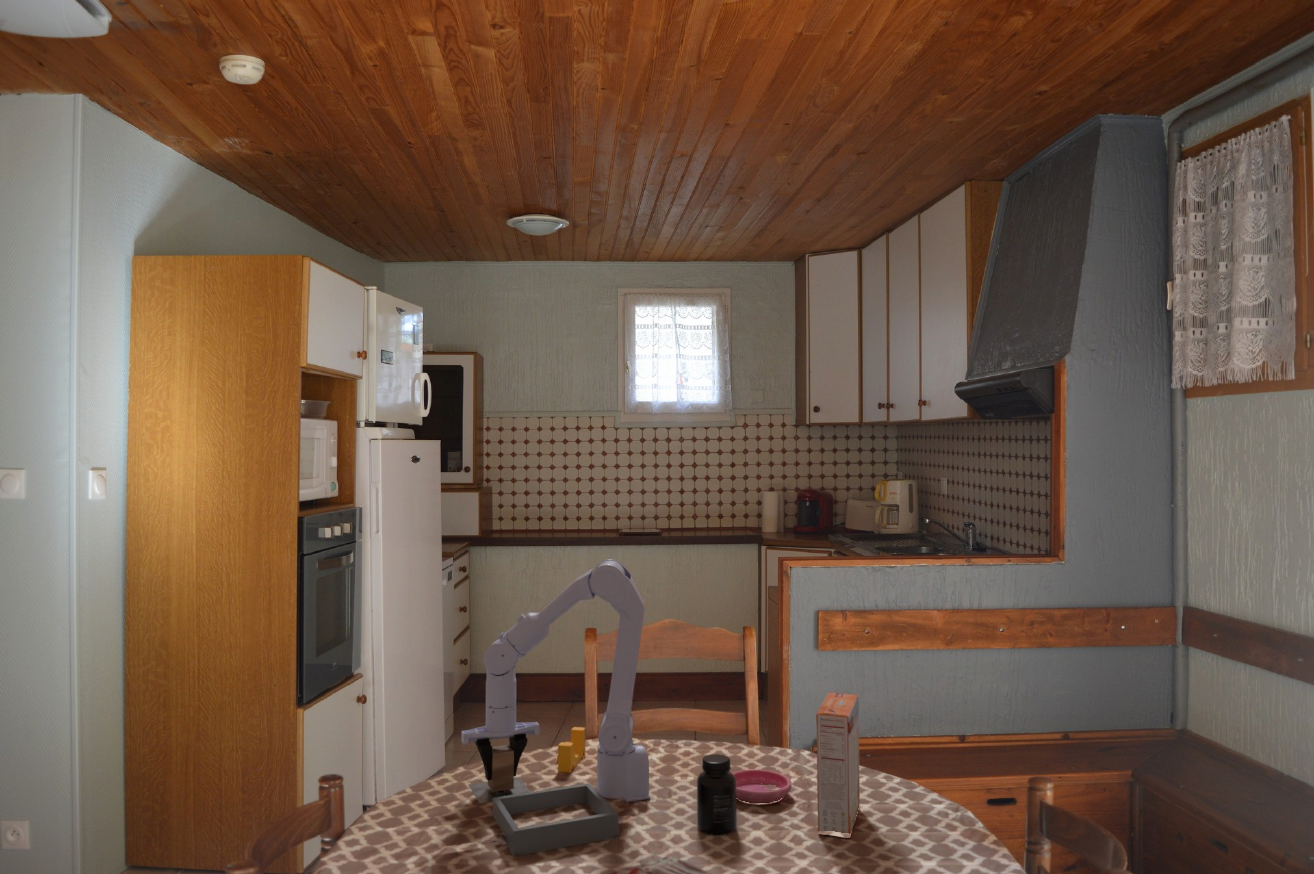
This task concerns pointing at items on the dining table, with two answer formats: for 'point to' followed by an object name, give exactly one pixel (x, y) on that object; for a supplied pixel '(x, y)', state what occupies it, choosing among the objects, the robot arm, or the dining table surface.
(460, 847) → the dining table surface
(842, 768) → the cracker box
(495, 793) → the stud plate
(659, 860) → the dining table surface
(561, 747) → the yellow u-shaped block
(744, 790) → the saucer
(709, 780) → the supplement bottle
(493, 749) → the small brown box
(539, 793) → the bin
